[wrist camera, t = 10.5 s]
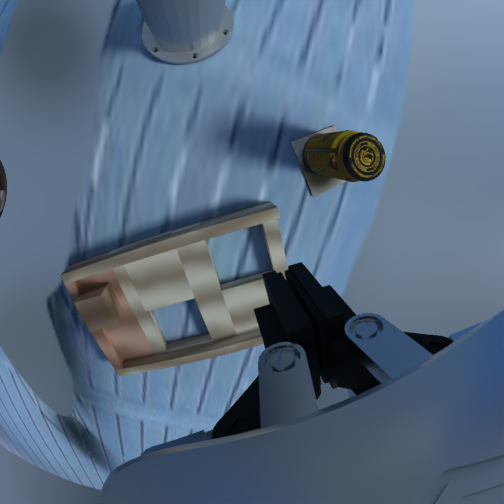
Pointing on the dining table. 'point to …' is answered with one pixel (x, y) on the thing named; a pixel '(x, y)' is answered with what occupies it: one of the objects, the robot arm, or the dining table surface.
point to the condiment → (338, 158)
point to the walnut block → (99, 307)
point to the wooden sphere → (2, 188)
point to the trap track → (179, 292)
